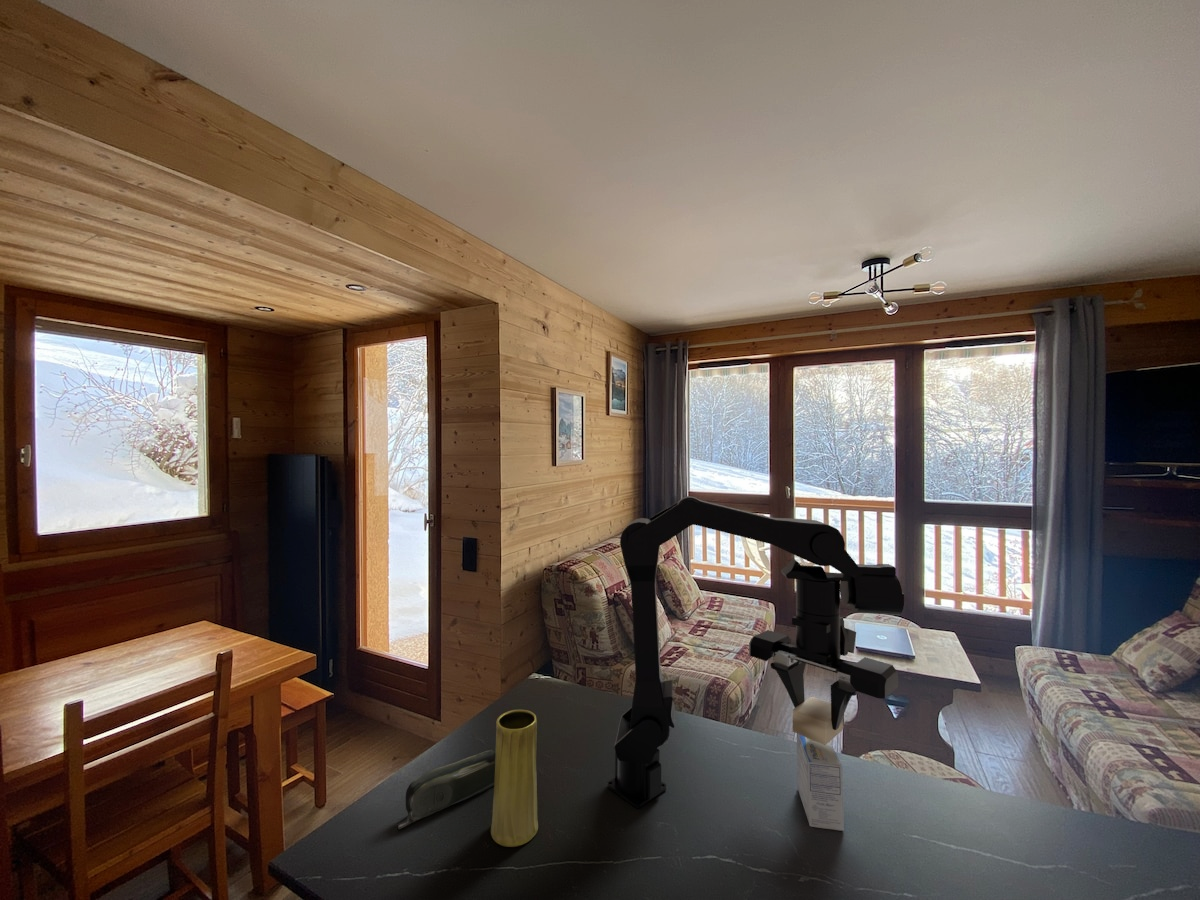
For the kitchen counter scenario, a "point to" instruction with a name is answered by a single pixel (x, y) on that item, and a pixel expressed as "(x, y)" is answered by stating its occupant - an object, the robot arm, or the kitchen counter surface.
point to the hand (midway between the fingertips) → (817, 721)
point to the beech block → (815, 721)
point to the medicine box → (820, 783)
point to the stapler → (449, 785)
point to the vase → (515, 779)
